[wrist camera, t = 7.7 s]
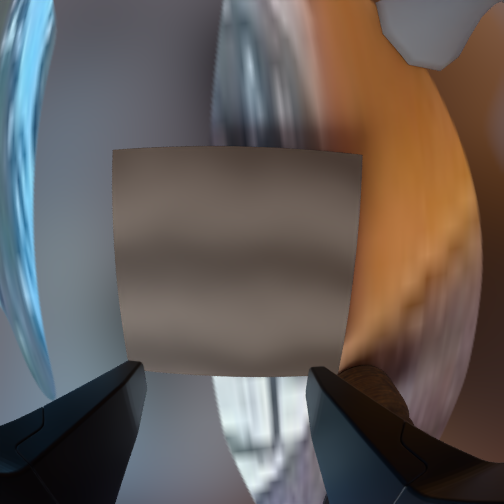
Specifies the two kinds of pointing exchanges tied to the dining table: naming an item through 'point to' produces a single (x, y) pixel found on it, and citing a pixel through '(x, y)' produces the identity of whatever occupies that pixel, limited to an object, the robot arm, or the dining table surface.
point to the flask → (430, 28)
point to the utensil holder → (377, 388)
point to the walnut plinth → (235, 257)
